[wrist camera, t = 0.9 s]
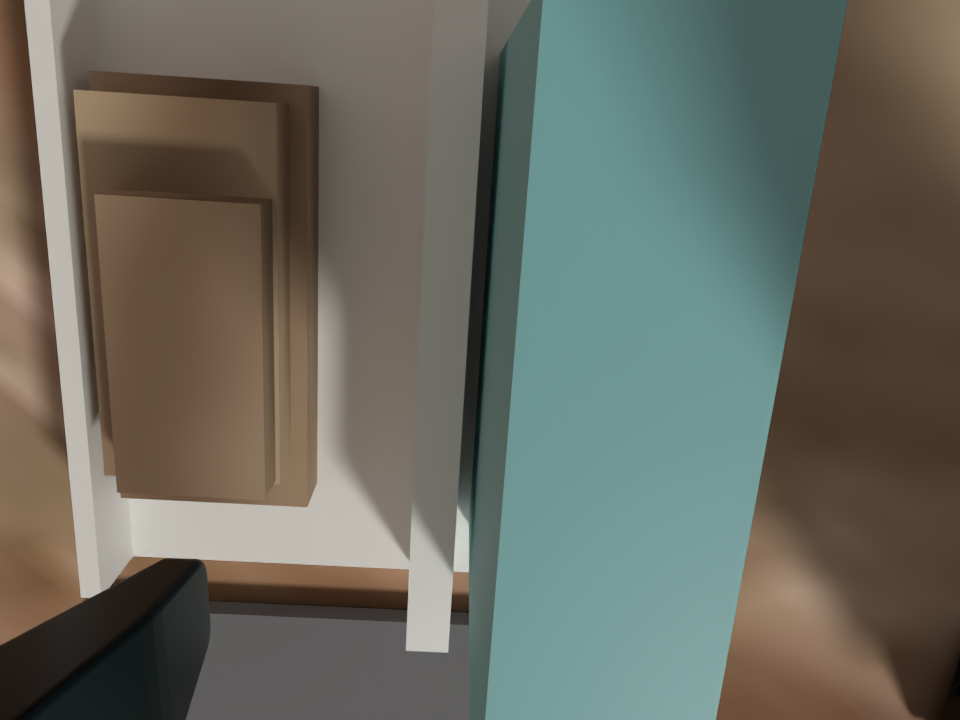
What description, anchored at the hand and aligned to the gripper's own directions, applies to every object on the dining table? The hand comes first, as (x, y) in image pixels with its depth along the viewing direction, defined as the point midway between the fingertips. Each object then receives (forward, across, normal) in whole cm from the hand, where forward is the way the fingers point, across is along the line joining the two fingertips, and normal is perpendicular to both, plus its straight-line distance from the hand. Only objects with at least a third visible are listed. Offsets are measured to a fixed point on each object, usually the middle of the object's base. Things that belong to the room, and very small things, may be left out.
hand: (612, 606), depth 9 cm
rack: (+13, +4, 0) cm, 13 cm away
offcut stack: (+12, +8, -1) cm, 14 cm away
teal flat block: (+12, 0, 0) cm, 12 cm away
